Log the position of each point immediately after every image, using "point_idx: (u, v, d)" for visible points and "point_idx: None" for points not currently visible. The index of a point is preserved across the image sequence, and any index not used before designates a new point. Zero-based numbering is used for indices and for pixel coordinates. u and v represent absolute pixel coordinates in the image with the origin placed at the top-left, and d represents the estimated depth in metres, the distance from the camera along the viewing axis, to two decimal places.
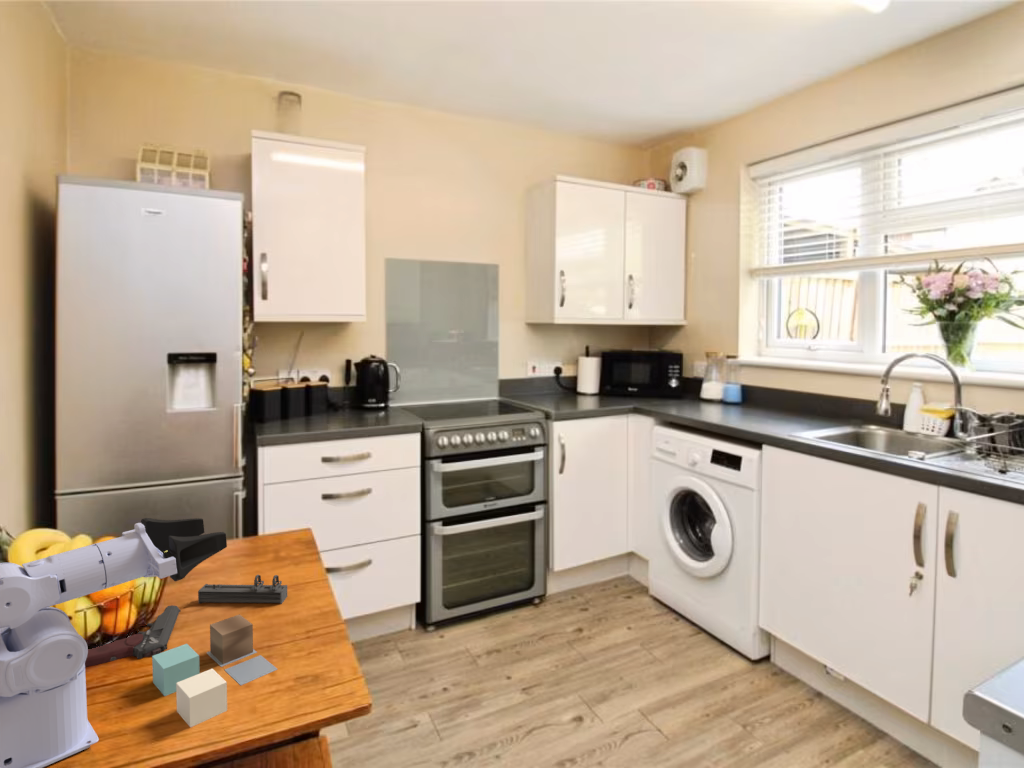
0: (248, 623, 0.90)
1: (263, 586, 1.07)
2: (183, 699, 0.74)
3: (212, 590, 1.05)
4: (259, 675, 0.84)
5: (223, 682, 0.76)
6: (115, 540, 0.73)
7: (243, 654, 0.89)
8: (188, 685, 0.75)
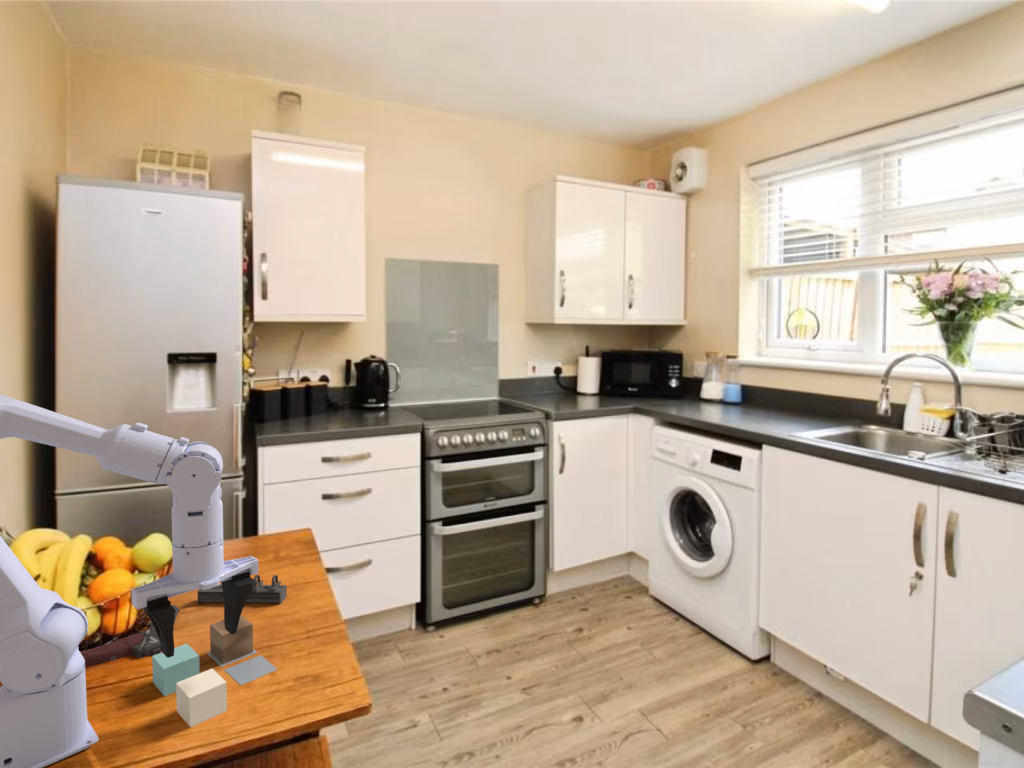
0: (248, 623, 0.90)
1: (262, 586, 1.07)
2: (183, 699, 0.74)
3: (211, 590, 1.05)
4: (259, 675, 0.84)
5: (223, 682, 0.76)
6: (205, 561, 0.72)
7: (243, 654, 0.89)
8: (188, 685, 0.75)
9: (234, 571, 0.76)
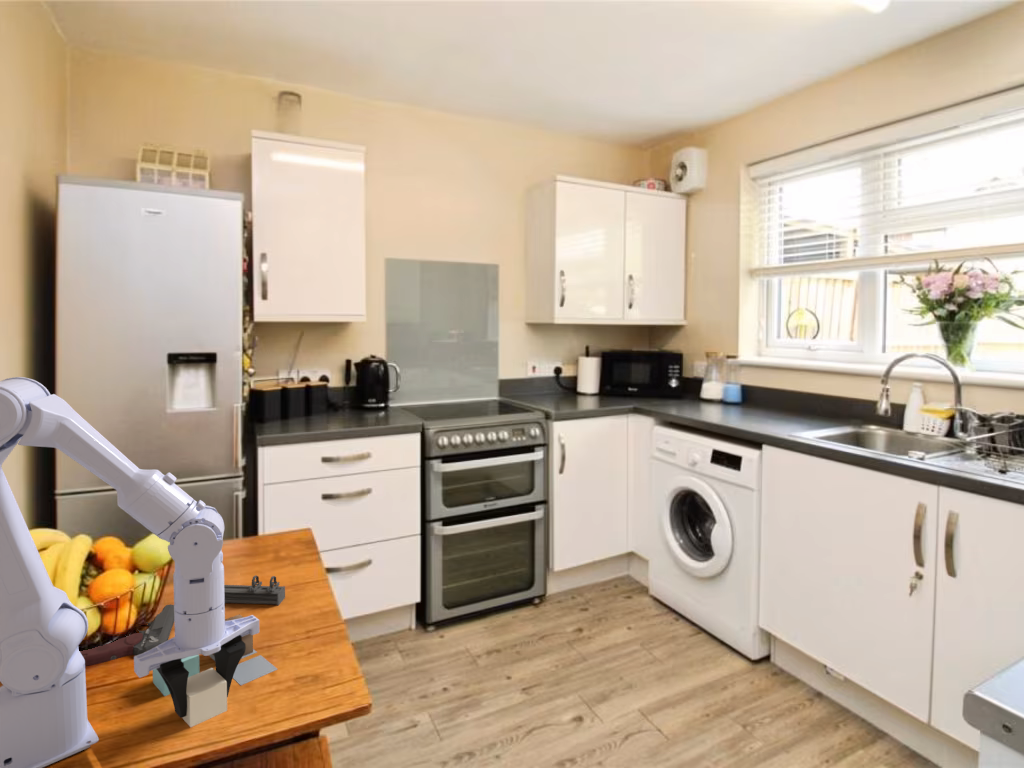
0: None
1: (261, 587, 1.07)
2: None
3: None
4: (259, 675, 0.84)
5: (223, 681, 0.76)
6: (206, 626, 0.73)
7: None
8: (188, 684, 0.75)
9: (235, 633, 0.77)
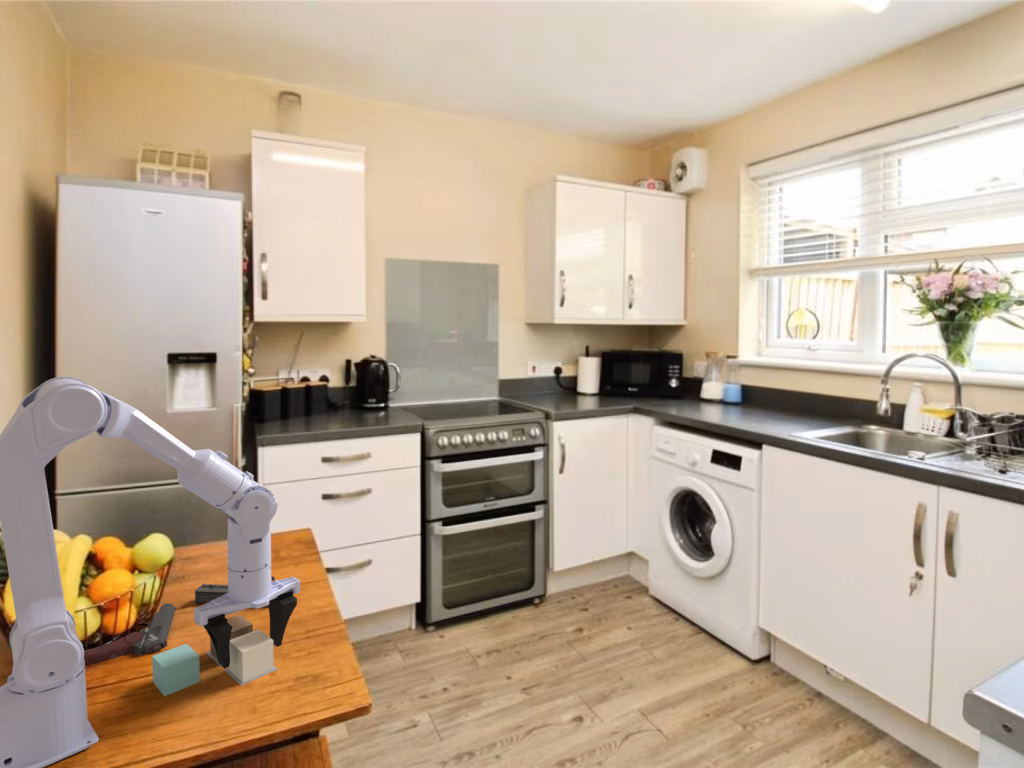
0: (248, 623, 0.90)
1: None
2: (235, 654, 0.83)
3: (209, 590, 1.05)
4: None
5: (270, 640, 0.85)
6: (257, 583, 0.82)
7: None
8: (240, 642, 0.84)
9: (280, 591, 0.86)
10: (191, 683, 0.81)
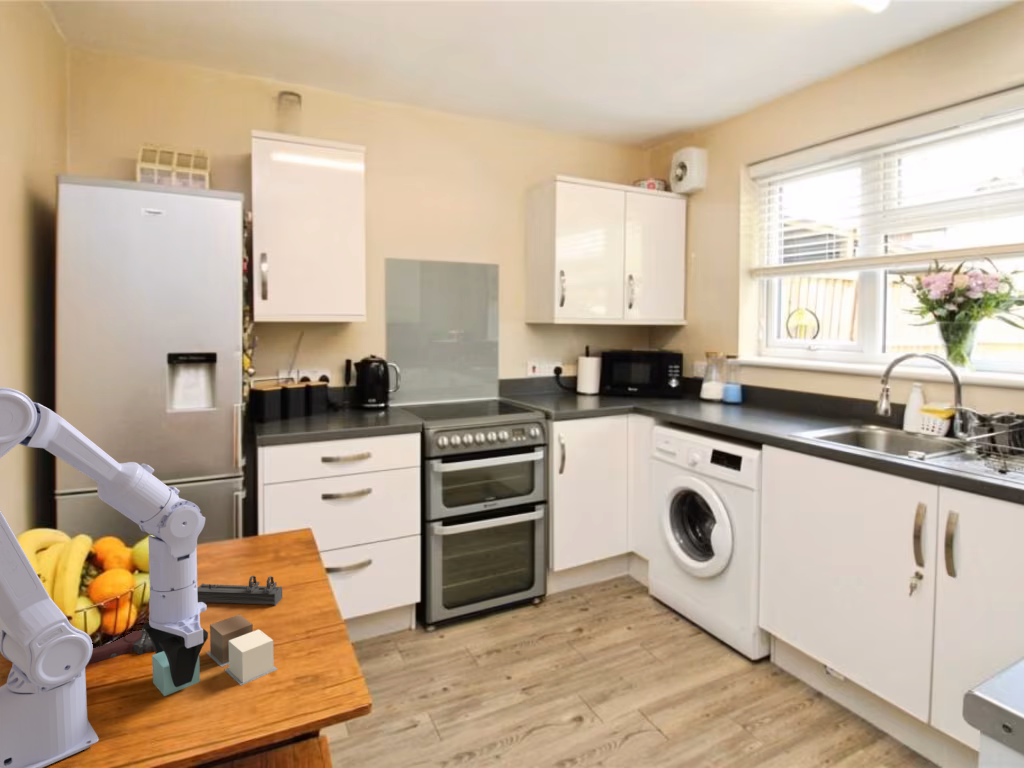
0: (248, 623, 0.90)
1: (258, 587, 1.07)
2: (235, 654, 0.83)
3: (207, 590, 1.05)
4: None
5: (270, 640, 0.85)
6: None
7: None
8: (240, 642, 0.84)
9: None
10: (191, 682, 0.81)
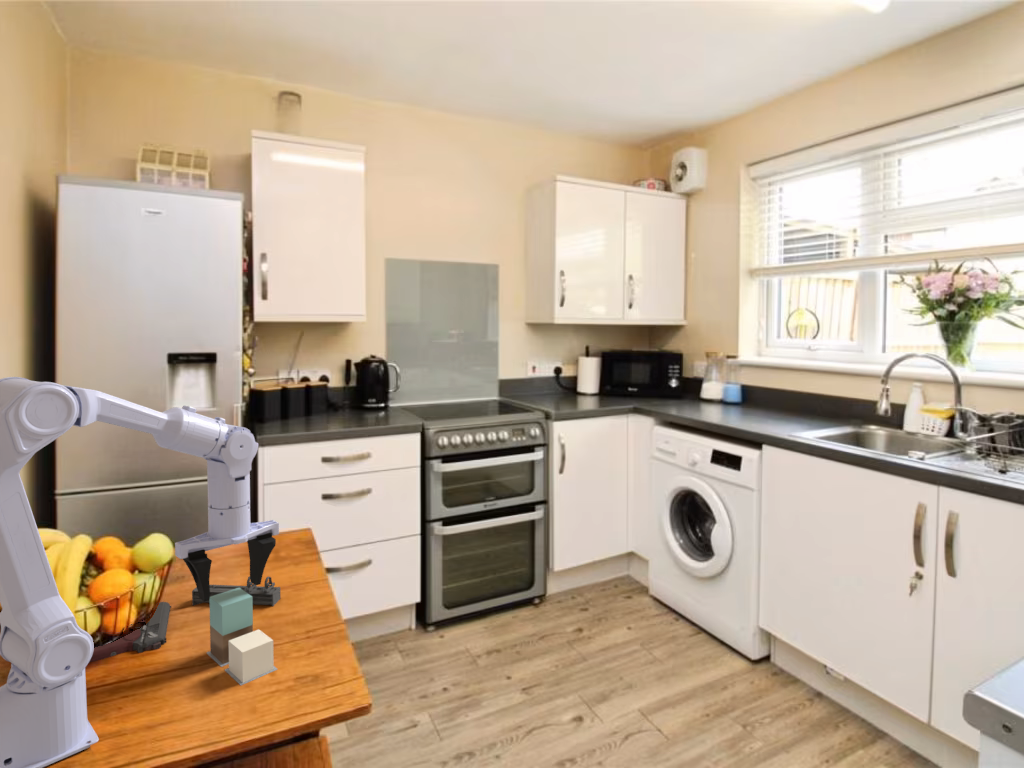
0: None
1: (256, 587, 1.07)
2: (235, 654, 0.83)
3: None
4: None
5: (270, 640, 0.85)
6: (235, 520, 0.85)
7: None
8: (240, 642, 0.84)
9: (259, 531, 0.89)
10: (219, 627, 0.86)
